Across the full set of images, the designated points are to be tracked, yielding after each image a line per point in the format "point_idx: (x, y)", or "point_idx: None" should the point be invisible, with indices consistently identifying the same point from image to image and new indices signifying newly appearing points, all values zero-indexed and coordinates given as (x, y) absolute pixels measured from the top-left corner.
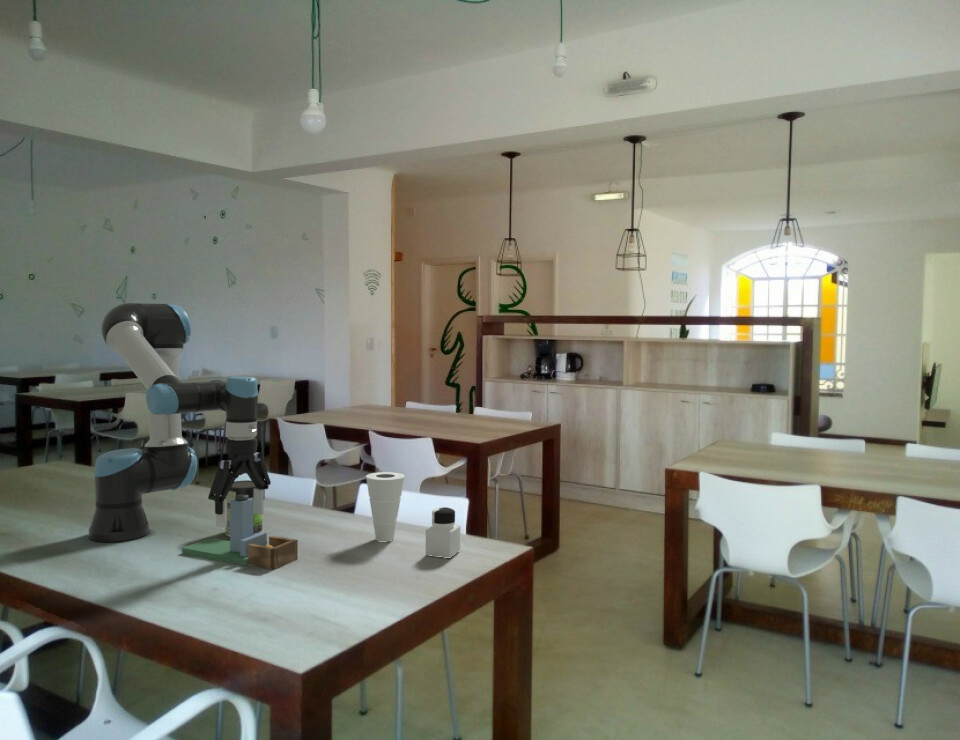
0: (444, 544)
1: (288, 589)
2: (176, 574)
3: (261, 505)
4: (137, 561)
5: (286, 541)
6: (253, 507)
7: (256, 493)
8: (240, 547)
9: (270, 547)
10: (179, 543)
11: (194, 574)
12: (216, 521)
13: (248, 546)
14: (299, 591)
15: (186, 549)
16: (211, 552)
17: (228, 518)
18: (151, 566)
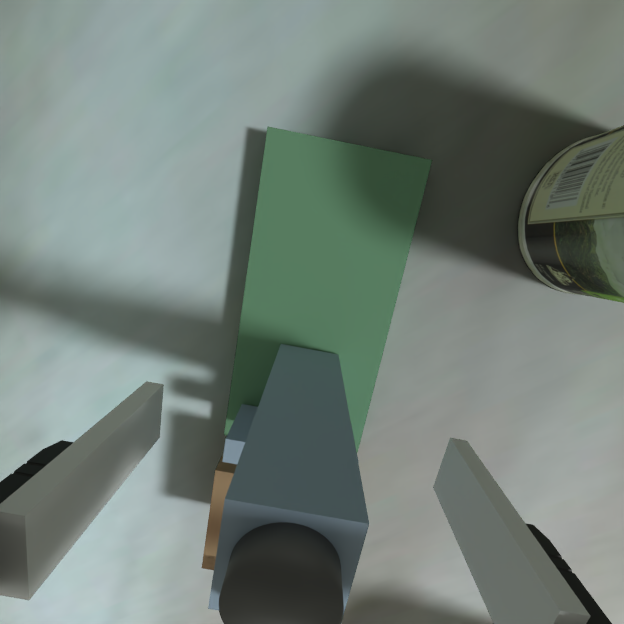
0: None
1: (109, 589)
2: (77, 264)
3: (456, 535)
4: (129, 11)
5: None
6: (465, 463)
7: (519, 589)
8: (233, 422)
9: (216, 549)
10: (397, 22)
11: (101, 319)
12: (131, 396)
13: (217, 467)
14: (109, 613)
15: (264, 154)
16: (252, 283)
17: (602, 164)
18: (105, 118)
